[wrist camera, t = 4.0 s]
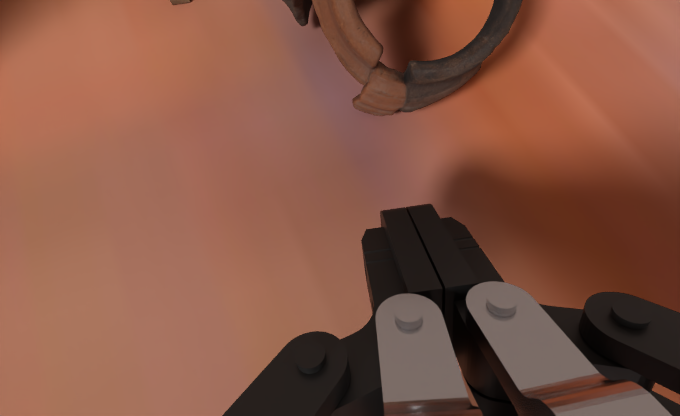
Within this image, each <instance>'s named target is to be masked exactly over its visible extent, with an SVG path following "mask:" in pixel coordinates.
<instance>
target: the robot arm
mask: <svg viewBox="0 0 680 416" xmlns="http://www.w3.org/2000/svg"><path fill="white" fill-rule="evenodd" d="M380 217H381V227H380V228H373V229H366V231H365V234H364V236H363V238H362V240H361V241H362V250H363V258H364V266H365V274H366V281H367V287H368V292H369V297H370V303H371V308H372V313H373V314H372V317H371V319H370V320H369V322H368V323H367V324H366V325H365V326H364V327H363V328H362V329H360V330H359V331H357V332H356V333H354V334H352V335H350V336H347V337H345V338H343V339H341V340H339V339H338V338H337V337H336V336H334V335H332V334H330V333H326V332H319V331H316V332H309V333H305V334H302V335H300V336H298V337H296V338H294V339H293V340H291V341H290V342H289V343H288V344H287V345H286V346H285V347H284V348H283V349H282V350H281V351H280V352H279V353H278V355H277V356H276V357H275V358H274V359H273V360H272V361H271V362H270V363H269V365H268V366H267V367H266V368H265V369H264V370H263V371H262V372H261V373H260V374H259V376H258V377H257V378H256V379H255V380H254V381H253V382H252V383H251V384H250V386H249V387H248V388H247V389H246V390H245V391H244V392H243V393H242V394H241V396H240V397H239V398H238V399H237V400H236V401H235V402H234V403H233V404H232V405H231V407H230V408H229V409H228V410H227V411H226V412H225V413H224V414H223V415H222V416H680V405H679V404H677V403H675V402H673V401H671V400H669V399H667V398H665V397H663V396H662V395H660V394H658V393H656V392H654V391H652V388H653V386H654V384H655V382H656V383H658V384H660V385H662V386H664V387H666V388H668V389H670V390H672V391H674V392H676V393H678V394H680V313H678V312H676V311H673V310H670V309H668V308H665V307H663V306H660V305H657V304H655V303H652V302H649V301H647V300H644V299H641V298H639V297H636V296H633V295H629V294H625V293H619V292H602V293H597V294H594V295H592V296H591V297H589V298H588V299H587V301H586V303H585V306H584V309H573V308H564V307H554V306H547V305H542V304H538V303H537V302H536V301H535V299H534V298H533V297H532V296H531V295H530V294H528V293H527V292H526V291H524V290H523V289H521V288H519V287H517V286H515V285H512V284H509V283H505V282H504V281H503V279H502V278H501V276H500V275H499V274H498V272H497V271H496V269H495V268H494V266H493V265H492V264H491V262H490V261H489V259H488V258H487V256H486V255H485V254H484V252H483V251H482V249H481V248H479V245H478V244H477V242H476V241H475V239H473V237H472V235H471V234H470V232H469V231H468V230H467V228H466V227H465V225H463V224H461V223H460V222H458V221H456V220H455V219H453V218H452V217H449V218H442V219H440V217H439V216H438V214H437V212H436V211H435V209H434V207H433V206H432V204H424V205H417V206H410V207H406V208H405V207H404V208H397V209H390V210H383V211H381V212H380ZM456 357H457V359H456ZM457 360H458V362H459V365H460V367H461V372H460V369H459V365H458V362H457Z"/></svg>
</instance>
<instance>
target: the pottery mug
mask: <svg viewBox="0 0 680 416" xmlns="http://www.w3.org/2000/svg"><path fill="white" fill-rule="evenodd" d="M283 1H284V2H285V3H286V4H287V6H288V7H289V8H290V10H291V12H292V13H293V15H294V17H295V19H296V21H297V22H298V23H299V24H300V25H301V26H304V25H306V24H308V18H309V11H310V8H311V5H312V2H313V6H314V9H315V12H316V14H317V16H318V18H319V22H320V25H321V28H322V31H323V32H324V34H325V36H326V38H327V39H328V41H329V43H330V44H331V46H332V48H333V49H334V51H335V54H336V55H337V57H338V59H339V60H340V62H341V63H342V65H343V66H344V67H345V68H346V70H347V71H348V72H349V73H350V74H351V75H352V76H353V77H354V78H355V79H356V80H357V81H358V82H359V83H360V84H363V85H364V87H363V89H362V92H361V94H359V95H358V96H356V97H355V98H353V106H354V108H356V109H358V110H360V111H362V112H365V113H369V114H373V115H376V116H384V115H393V114H394V113H395V112H396V111H397V110H400V111H402V112H412V111H414V110H417V109H420V108H422V107H425V106H427V105H429V104H431V103H434V102H436V101H438V100H440V99H442V98H443V97H445V96H448V95H449V94H451V93H452V92H454V91H455V90H457V89H458V88H460V87H461V86H462V85H464V84H465V83H466V82H467V81H468V80H469V79H471V78H472V77H473V76H474V75H475V74H476V73H477V72H478V71H479V69H480V68H481V64H482V62H483V61H484V60H485V59H486V58H487V57H488V56H489V55H490V54H491V53H492V52H493V50H494V49H495V47H497V46H498V45H499V44H500V43H501V41H502V40H503V38H504V37H505V36H506V35H507V34H508V33H509V30H510V27H511V25H512V23H513V22H514V20H515V18H516V16H517V14H518V12H519V9H520V6H521V3H522V0H494V3H493V7H492V9H491V12H490V14H489V17H488V19H487V21H486V23H485V24H484V26H483V28H482V29H481V31H480V32H479V34H478V35H477V36H476V37H475V38H474V40H472V41H471V42H470V43H469V44H468V45H466V46H465V47H464V48H463V49H461V50H460V51H458V52H456V53H455V54H453V55H451V56H448V57H445V58H442V59H438V60H433V61H415V60H412V61H410V62H409V63H408V66H407V69H406V71H405V72H404V73H402V72H399V71H397V70H395V69H390V68H388V67H386V66H385V65H384V64H382V63H381V62H380V61H379V60H380V57H381V55H382V53H383V46H382V45H381V44H380V43H379V42H378V41H377V40H376V39H375V37H374V36H373V35H372V34H371V32H370V31H369V30H368V28H367V27H366V26H365V24H364V23H363V21H362V19H361V18H360V16H359V14H358V11H357V8H356V5H355V2H354V0H283Z"/></svg>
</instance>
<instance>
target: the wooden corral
mask: <svg viewBox="0 0 680 416" xmlns="http://www.w3.org/2000/svg"><path fill="white" fill-rule="evenodd" d="M170 1H171V3H172V5H174V4H181V3H187V2H190V0H170Z"/></svg>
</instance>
